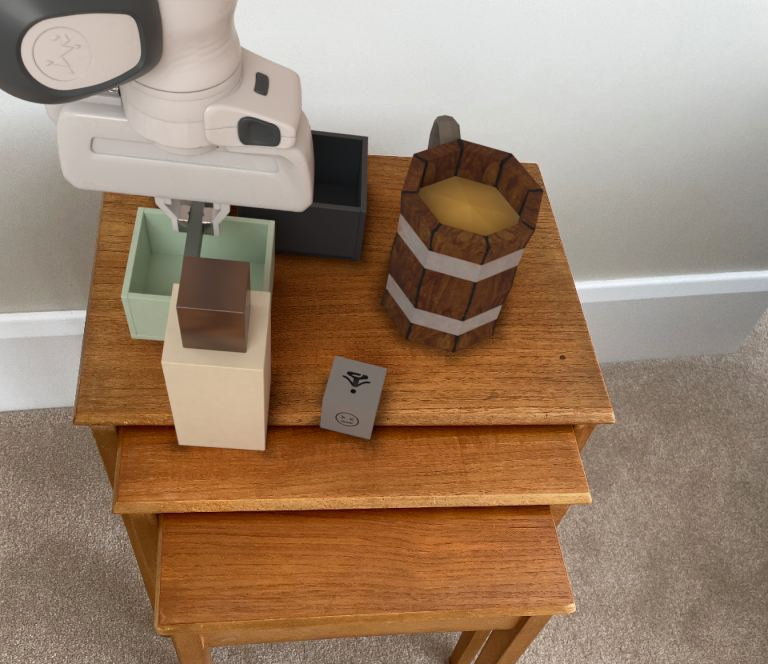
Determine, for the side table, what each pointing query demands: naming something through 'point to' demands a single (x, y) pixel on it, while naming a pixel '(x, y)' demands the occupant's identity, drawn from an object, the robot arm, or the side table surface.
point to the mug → (458, 239)
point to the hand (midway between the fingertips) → (198, 229)
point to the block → (214, 304)
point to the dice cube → (352, 397)
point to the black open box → (326, 202)
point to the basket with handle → (165, 258)
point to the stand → (220, 384)
